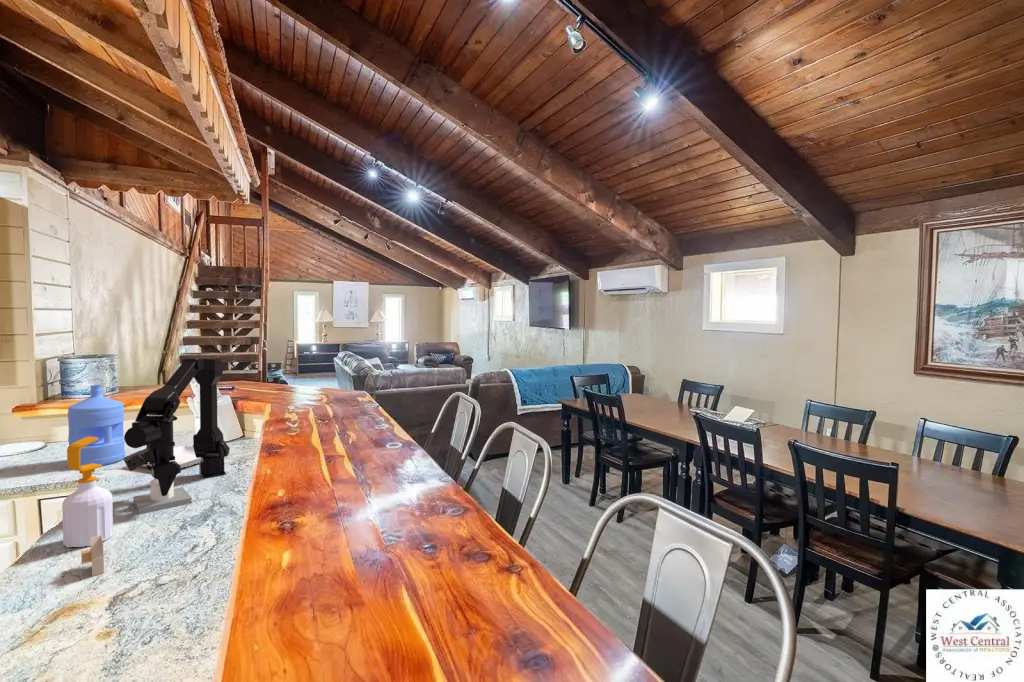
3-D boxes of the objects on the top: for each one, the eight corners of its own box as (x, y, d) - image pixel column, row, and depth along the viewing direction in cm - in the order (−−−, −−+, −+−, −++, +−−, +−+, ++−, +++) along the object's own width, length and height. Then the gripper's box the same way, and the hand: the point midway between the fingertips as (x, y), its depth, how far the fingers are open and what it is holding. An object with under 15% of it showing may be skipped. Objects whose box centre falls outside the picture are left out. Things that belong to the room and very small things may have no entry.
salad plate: (170, 475, 165) (170, 465, 165) (126, 468, 172) (126, 459, 172) (225, 459, 186) (225, 450, 185) (183, 453, 192) (183, 444, 192)
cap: (149, 496, 141) (148, 479, 141) (171, 492, 145) (171, 475, 145) (152, 502, 137) (151, 484, 137) (175, 497, 141) (175, 480, 141)
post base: (182, 491, 150) (182, 474, 149) (191, 502, 141) (191, 484, 141) (133, 501, 141) (132, 482, 141) (139, 514, 133) (139, 494, 132)
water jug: (58, 465, 174) (56, 386, 173) (109, 453, 189) (107, 381, 187) (85, 470, 168) (83, 389, 167) (134, 458, 183) (133, 384, 182)
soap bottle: (122, 535, 120) (120, 435, 119) (79, 551, 111) (76, 444, 110) (97, 529, 123) (95, 432, 122) (53, 545, 114) (50, 440, 113)
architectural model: (82, 581, 100) (81, 545, 100) (81, 568, 105) (80, 534, 105) (104, 575, 102) (103, 540, 102) (102, 563, 107) (101, 529, 107)
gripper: (121, 437, 141) (122, 490, 142) (130, 450, 128) (131, 509, 129) (168, 431, 149) (168, 482, 150) (180, 443, 136) (181, 499, 136)
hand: (162, 492), depth 141 cm, fingers open, 6 cm apart
